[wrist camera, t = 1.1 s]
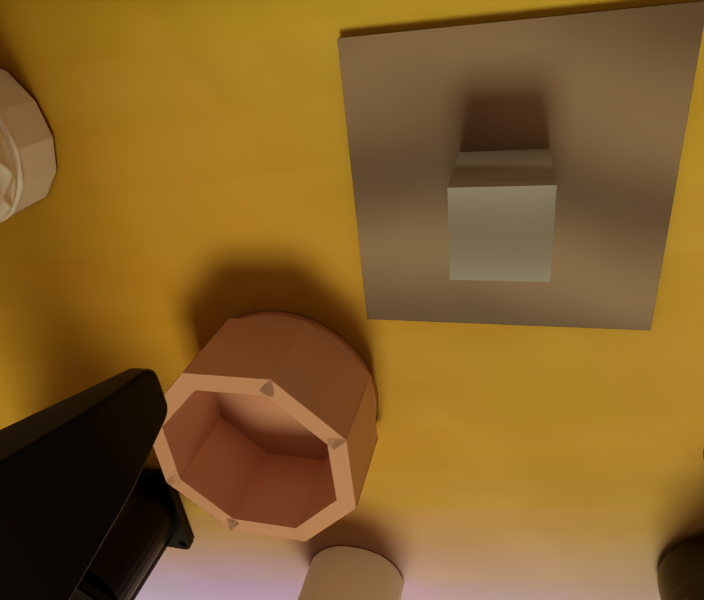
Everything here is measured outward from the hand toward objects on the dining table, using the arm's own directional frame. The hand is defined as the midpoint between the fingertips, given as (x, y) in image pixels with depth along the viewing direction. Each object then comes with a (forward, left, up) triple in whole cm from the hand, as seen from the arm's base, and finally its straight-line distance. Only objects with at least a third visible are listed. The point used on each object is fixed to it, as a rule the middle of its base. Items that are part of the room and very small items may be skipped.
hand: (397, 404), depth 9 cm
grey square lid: (-1, -1, -14) cm, 14 cm away
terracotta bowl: (-11, +9, -13) cm, 19 cm away
